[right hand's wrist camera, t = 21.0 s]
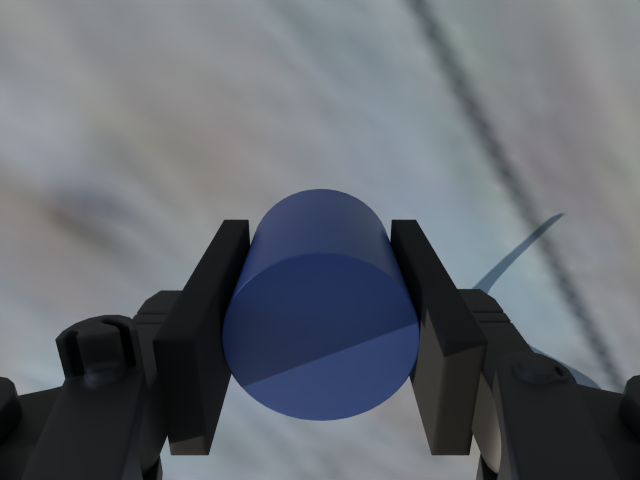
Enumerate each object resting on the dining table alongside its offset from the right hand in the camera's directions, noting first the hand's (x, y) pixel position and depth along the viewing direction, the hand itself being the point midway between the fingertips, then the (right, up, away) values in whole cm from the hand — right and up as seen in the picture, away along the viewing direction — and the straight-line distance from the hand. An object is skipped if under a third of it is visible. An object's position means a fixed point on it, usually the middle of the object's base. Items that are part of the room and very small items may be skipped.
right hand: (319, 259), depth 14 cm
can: (0, 0, 0) cm, 0 cm away
